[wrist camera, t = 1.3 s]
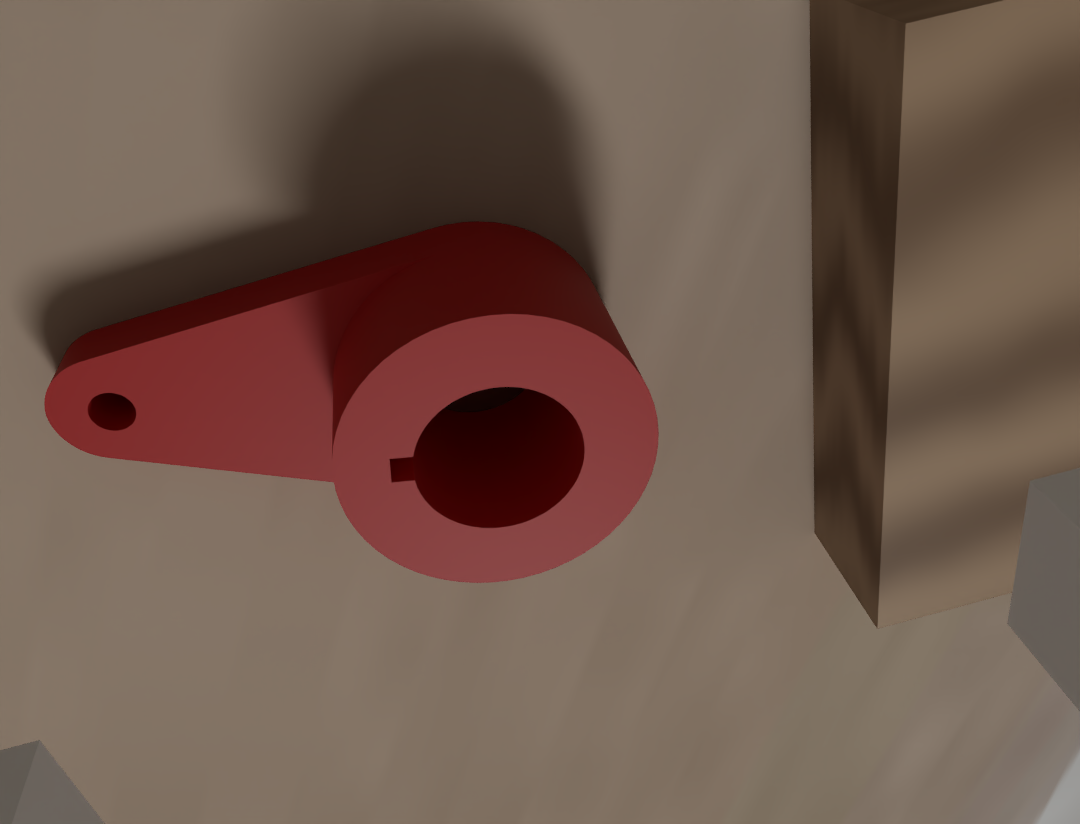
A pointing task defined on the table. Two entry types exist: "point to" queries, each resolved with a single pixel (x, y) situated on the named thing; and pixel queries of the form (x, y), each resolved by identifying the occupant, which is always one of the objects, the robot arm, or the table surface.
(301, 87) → the table surface
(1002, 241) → the walnut base brick
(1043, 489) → the robot arm
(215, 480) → the table surface
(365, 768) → the table surface
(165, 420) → the lever
